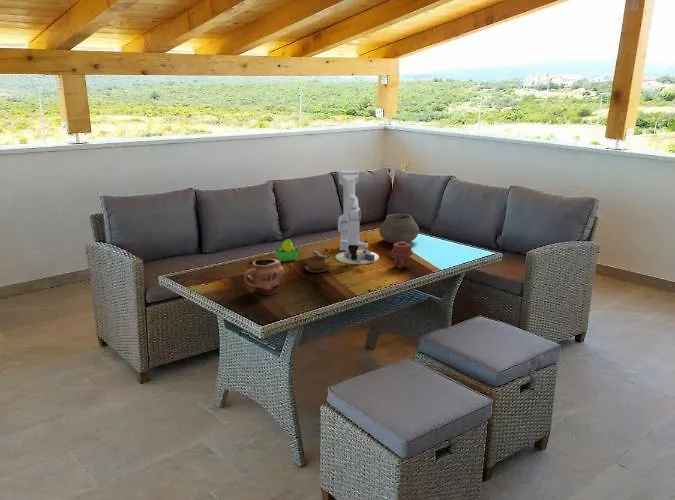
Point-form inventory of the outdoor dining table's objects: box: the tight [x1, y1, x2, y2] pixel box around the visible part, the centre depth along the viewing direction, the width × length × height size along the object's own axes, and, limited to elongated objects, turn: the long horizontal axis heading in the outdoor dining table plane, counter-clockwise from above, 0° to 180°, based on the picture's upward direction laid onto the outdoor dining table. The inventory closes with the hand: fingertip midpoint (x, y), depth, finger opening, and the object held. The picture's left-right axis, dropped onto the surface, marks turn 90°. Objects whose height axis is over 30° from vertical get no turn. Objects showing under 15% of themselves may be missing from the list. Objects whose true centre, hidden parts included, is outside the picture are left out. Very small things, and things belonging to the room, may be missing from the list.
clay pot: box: [378, 213, 420, 244], centre depth 336 cm, size 22×21×15 cm
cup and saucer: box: [304, 255, 331, 274], centre depth 289 cm, size 12×12×6 cm
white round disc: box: [335, 250, 380, 265], centre depth 309 cm, size 22×22×4 cm
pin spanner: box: [313, 249, 328, 259], centre depth 315 cm, size 13×3×2 cm, turn 19°
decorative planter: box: [243, 258, 285, 296], centre depth 257 cm, size 20×12×14 cm, turn 139°
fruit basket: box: [273, 238, 300, 262], centre depth 305 cm, size 11×9×11 cm
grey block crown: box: [343, 248, 372, 262], centre depth 307 cm, size 13×17×4 cm
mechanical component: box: [391, 241, 414, 269], centre depth 292 cm, size 12×10×10 cm
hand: (353, 259), depth 300 cm, fingers closed
